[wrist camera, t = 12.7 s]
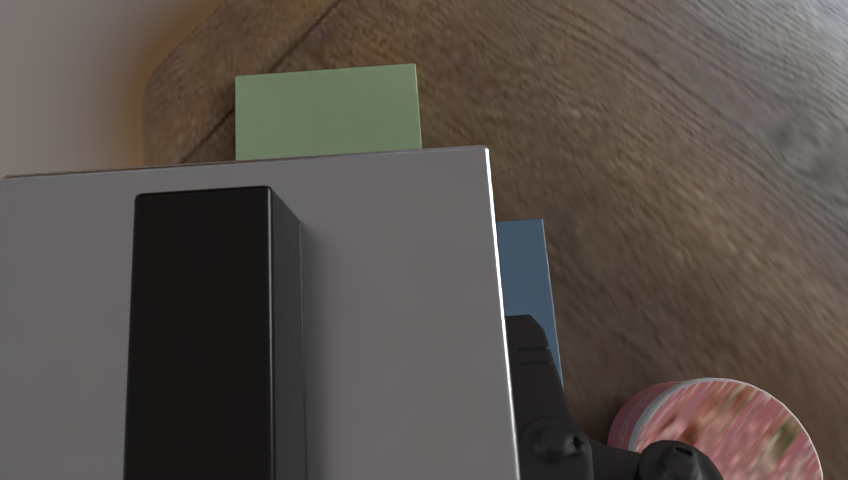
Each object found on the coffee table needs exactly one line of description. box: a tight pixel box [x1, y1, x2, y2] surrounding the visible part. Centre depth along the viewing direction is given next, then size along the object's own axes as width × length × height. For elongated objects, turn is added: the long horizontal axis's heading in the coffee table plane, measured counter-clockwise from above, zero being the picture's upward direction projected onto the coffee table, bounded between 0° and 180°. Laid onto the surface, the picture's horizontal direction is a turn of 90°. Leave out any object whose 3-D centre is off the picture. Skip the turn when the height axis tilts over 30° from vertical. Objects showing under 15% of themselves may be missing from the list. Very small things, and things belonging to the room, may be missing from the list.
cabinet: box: [497, 218, 564, 389], centre depth 36 cm, size 15×14×8 cm
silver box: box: [0, 145, 521, 480], centre depth 13 cm, size 4×6×19 cm
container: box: [607, 377, 823, 480], centre depth 35 cm, size 10×10×8 cm
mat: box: [235, 63, 422, 160], centre depth 43 cm, size 14×12×1 cm
